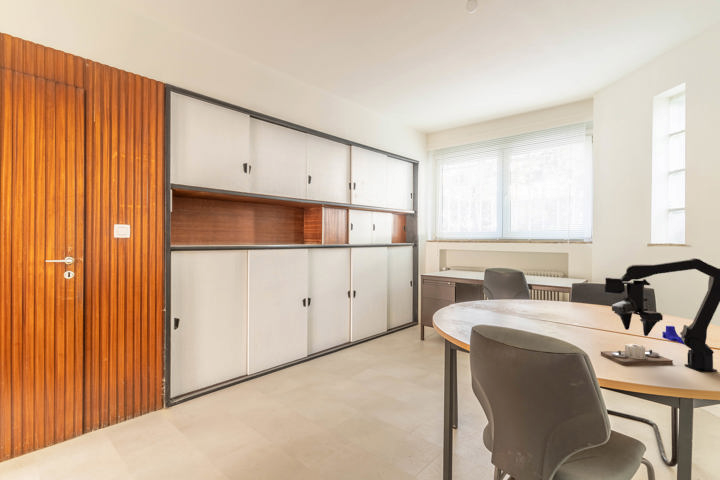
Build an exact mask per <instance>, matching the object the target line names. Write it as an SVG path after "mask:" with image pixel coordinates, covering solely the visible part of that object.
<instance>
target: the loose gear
mask: <svg viewBox="0 0 720 480" xmlns="http://www.w3.org/2000/svg"><path fill="white" fill-rule="evenodd" d="M645 350H646V347H645V346H644V345H639V344H636V343H627V344H626V343H625V344H624V351H625V354H627V356H631V357H634V358H643V357H644V358H645Z"/></svg>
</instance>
